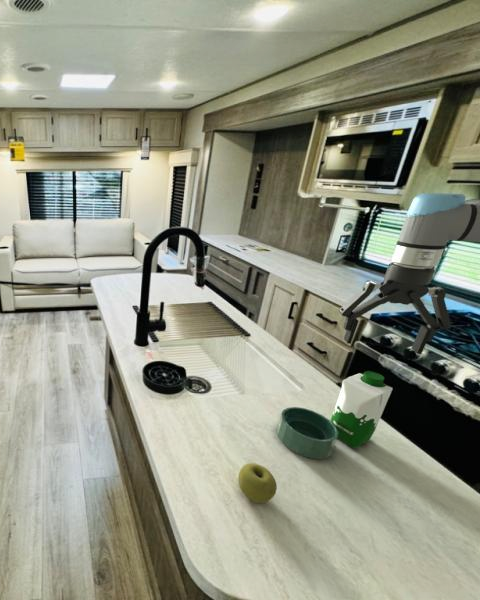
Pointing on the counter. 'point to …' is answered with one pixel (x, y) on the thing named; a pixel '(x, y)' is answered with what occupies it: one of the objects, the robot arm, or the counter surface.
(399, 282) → the robot arm
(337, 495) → the counter surface
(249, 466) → the apple
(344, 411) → the soya milk
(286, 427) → the green bowl
